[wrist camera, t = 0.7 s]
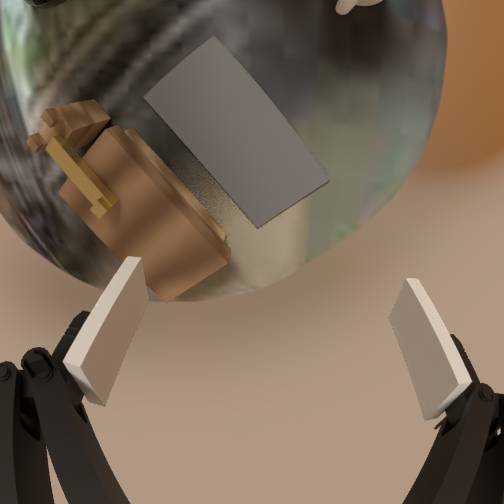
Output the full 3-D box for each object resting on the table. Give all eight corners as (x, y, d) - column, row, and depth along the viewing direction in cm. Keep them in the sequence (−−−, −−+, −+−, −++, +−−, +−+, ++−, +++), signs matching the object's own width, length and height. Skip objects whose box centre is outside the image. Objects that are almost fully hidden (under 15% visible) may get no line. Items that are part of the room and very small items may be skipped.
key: (52, 145, 26) (38, 151, 24) (60, 133, 26) (46, 138, 23) (109, 210, 31) (98, 220, 28) (118, 200, 30) (108, 209, 28)
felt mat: (143, 97, 32) (142, 97, 32) (214, 35, 28) (213, 35, 28) (257, 227, 41) (257, 227, 41) (329, 179, 37) (329, 180, 37)
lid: (74, 181, 33) (58, 192, 30) (122, 123, 29) (105, 128, 26) (174, 285, 41) (166, 303, 38) (232, 245, 37) (228, 263, 34)
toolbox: (69, 131, 34) (21, 150, 25) (100, 91, 31) (51, 99, 22) (187, 259, 45) (168, 307, 35) (226, 232, 42) (214, 278, 33)
